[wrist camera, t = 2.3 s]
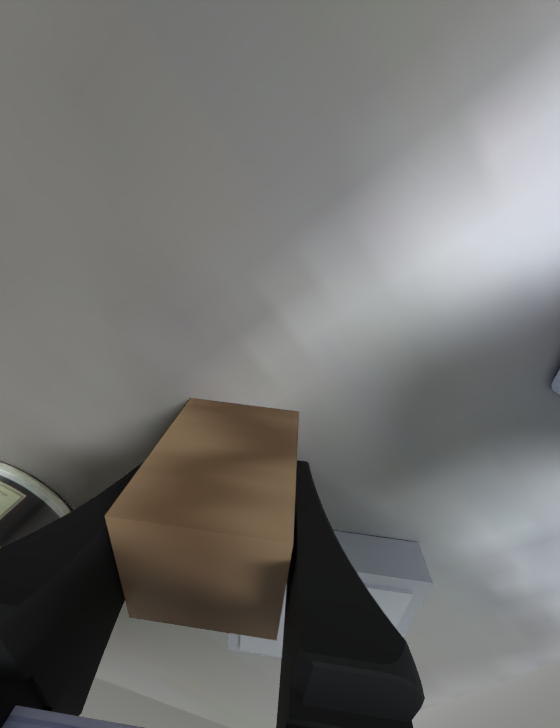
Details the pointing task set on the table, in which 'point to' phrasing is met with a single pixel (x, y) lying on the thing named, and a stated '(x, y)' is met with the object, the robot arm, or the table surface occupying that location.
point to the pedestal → (367, 585)
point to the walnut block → (211, 521)
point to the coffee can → (25, 504)
